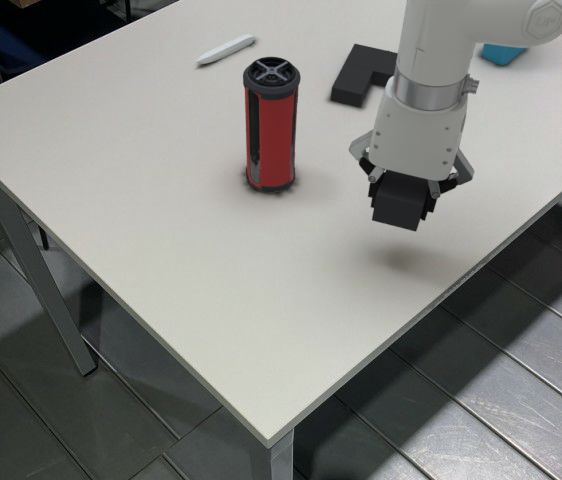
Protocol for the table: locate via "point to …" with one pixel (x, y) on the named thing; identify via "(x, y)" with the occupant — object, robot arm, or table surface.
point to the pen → (226, 49)
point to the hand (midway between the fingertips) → (400, 206)
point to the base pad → (362, 74)
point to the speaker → (271, 122)
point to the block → (500, 53)
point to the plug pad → (400, 200)
